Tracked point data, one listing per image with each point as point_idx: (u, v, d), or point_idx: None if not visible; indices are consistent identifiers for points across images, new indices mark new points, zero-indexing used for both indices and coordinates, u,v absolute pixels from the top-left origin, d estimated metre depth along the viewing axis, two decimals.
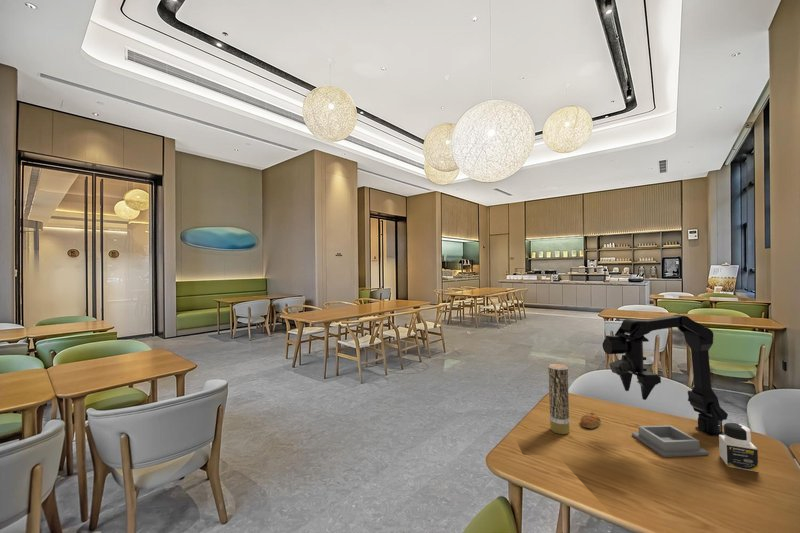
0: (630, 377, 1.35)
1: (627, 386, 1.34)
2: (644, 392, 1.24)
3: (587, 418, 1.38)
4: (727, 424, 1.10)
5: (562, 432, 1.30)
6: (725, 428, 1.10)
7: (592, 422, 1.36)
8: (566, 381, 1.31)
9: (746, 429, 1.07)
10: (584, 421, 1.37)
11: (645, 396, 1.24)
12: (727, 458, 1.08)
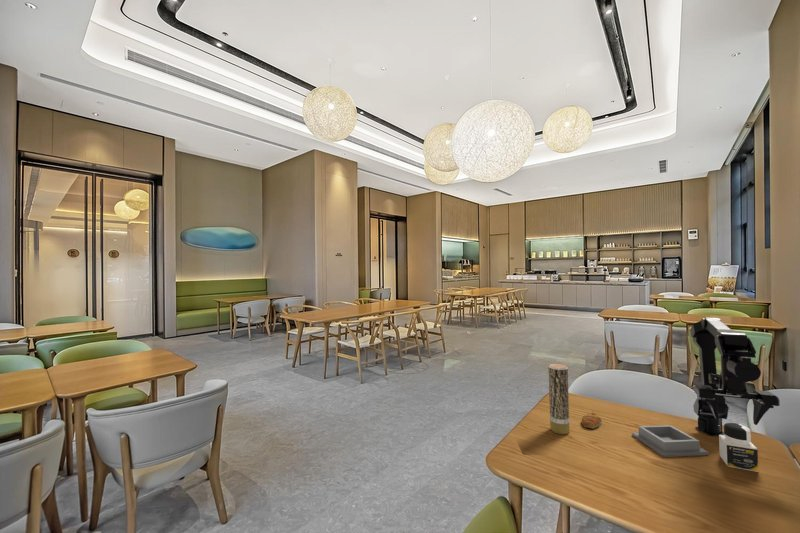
0: (758, 410, 1.06)
1: (754, 418, 1.07)
2: (711, 409, 1.12)
3: (588, 418, 1.38)
4: (727, 424, 1.10)
5: (562, 432, 1.30)
6: (725, 428, 1.10)
7: (593, 422, 1.35)
8: (566, 381, 1.31)
9: (746, 429, 1.07)
10: (585, 421, 1.37)
11: (714, 415, 1.12)
12: (727, 458, 1.08)
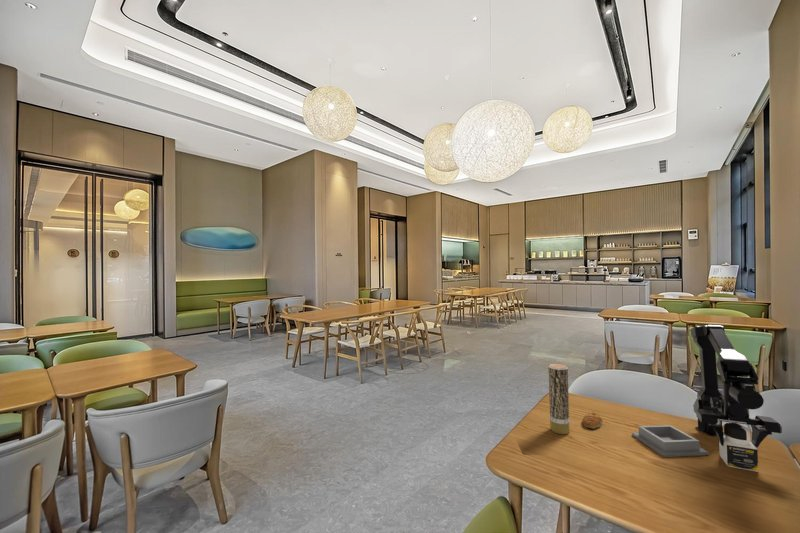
0: (757, 436, 1.06)
1: None
2: (716, 434, 1.12)
3: (589, 418, 1.38)
4: (727, 424, 1.10)
5: (562, 432, 1.30)
6: (725, 428, 1.10)
7: (594, 422, 1.35)
8: (566, 381, 1.31)
9: (746, 429, 1.07)
10: (586, 421, 1.37)
11: (719, 440, 1.11)
12: (727, 458, 1.08)
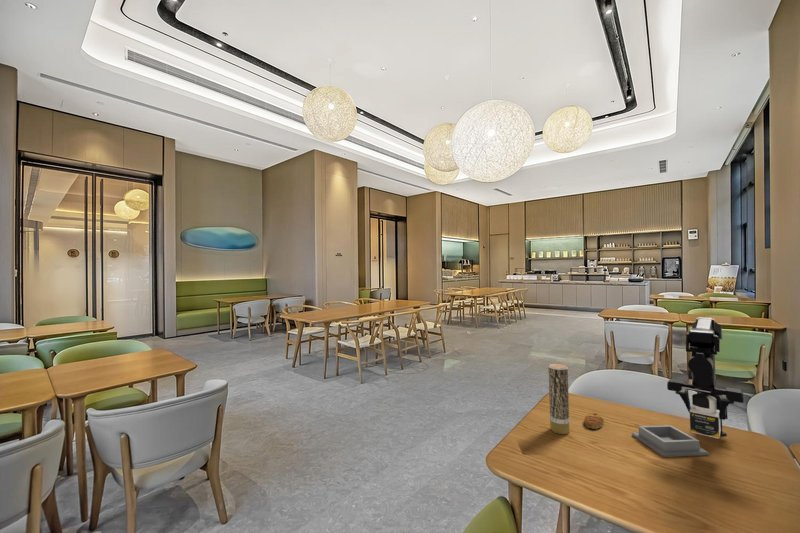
0: (720, 405, 1.10)
1: (719, 413, 1.12)
2: None
3: (591, 419, 1.37)
4: (695, 394, 1.16)
5: (562, 432, 1.30)
6: (692, 397, 1.16)
7: (596, 423, 1.35)
8: (566, 381, 1.31)
9: (710, 398, 1.12)
10: (588, 422, 1.36)
11: None
12: (690, 424, 1.14)
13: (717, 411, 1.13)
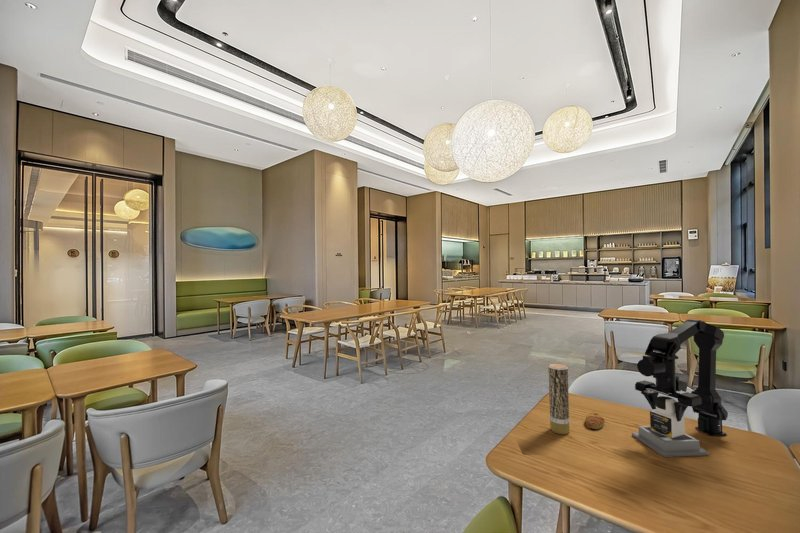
0: None
1: None
2: None
3: (592, 419, 1.37)
4: (660, 396, 1.24)
5: (562, 432, 1.30)
6: None
7: (597, 423, 1.35)
8: (566, 381, 1.31)
9: (668, 401, 1.20)
10: (589, 422, 1.36)
11: None
12: (650, 423, 1.24)
13: None
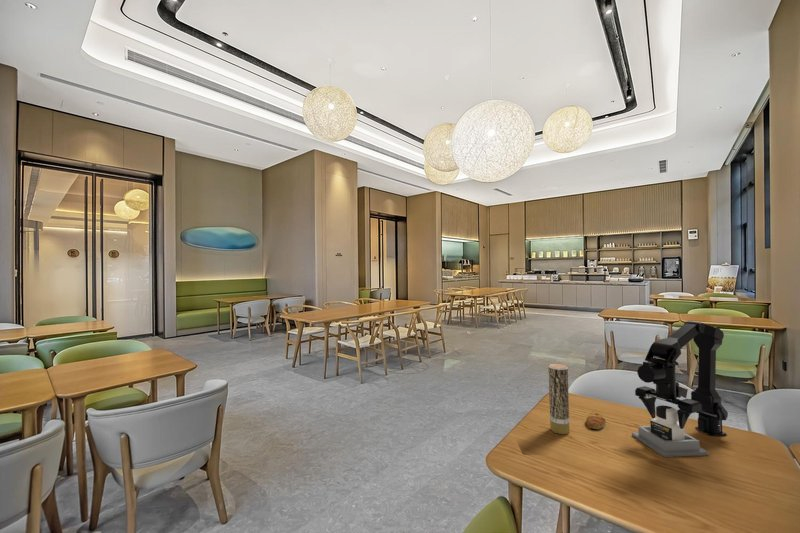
0: None
1: None
2: None
3: (593, 419, 1.37)
4: None
5: (562, 432, 1.30)
6: None
7: (598, 423, 1.35)
8: (566, 381, 1.31)
9: (669, 410, 1.20)
10: (590, 422, 1.36)
11: None
12: None
13: None
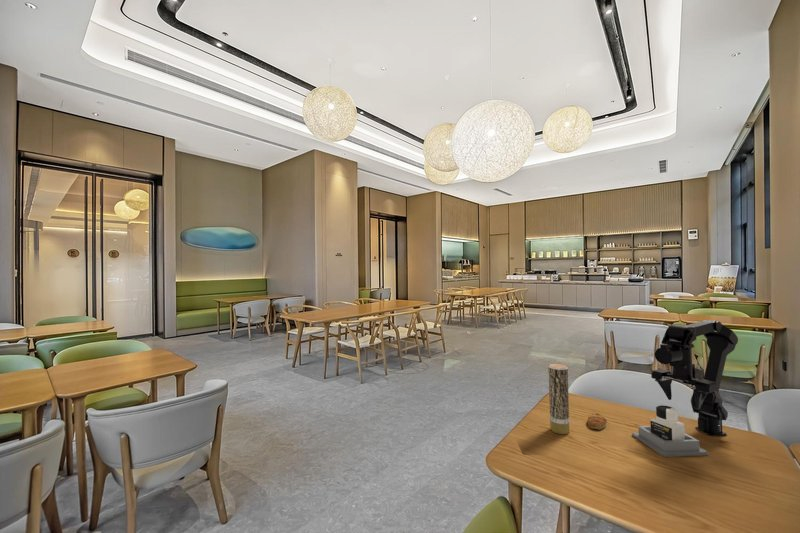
0: None
1: None
2: None
3: (594, 419, 1.37)
4: None
5: (562, 432, 1.30)
6: None
7: (600, 423, 1.35)
8: (566, 381, 1.31)
9: (669, 410, 1.20)
10: (592, 422, 1.36)
11: None
12: None
13: (679, 424, 1.19)
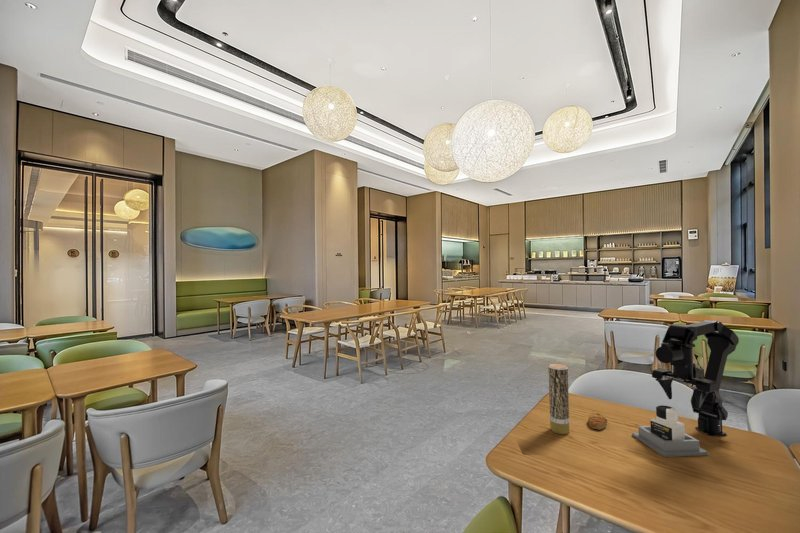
0: None
1: None
2: None
3: (595, 419, 1.37)
4: None
5: (562, 432, 1.30)
6: None
7: (601, 423, 1.34)
8: (566, 381, 1.31)
9: (669, 410, 1.20)
10: (593, 422, 1.36)
11: None
12: None
13: (679, 424, 1.19)
